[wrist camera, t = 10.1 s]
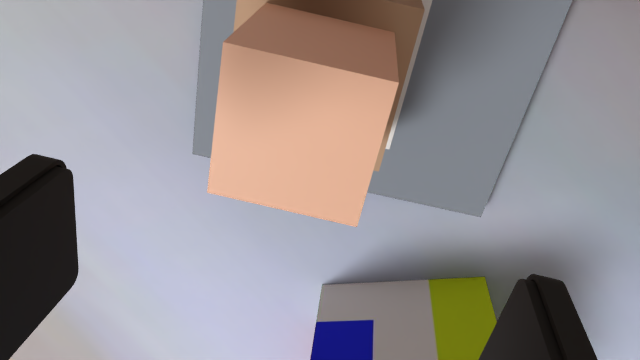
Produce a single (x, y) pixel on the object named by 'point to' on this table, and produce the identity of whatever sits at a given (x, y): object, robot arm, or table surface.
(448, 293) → the puzzle toy
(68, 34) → the table surface
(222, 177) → the top block
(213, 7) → the build mat
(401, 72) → the base block
